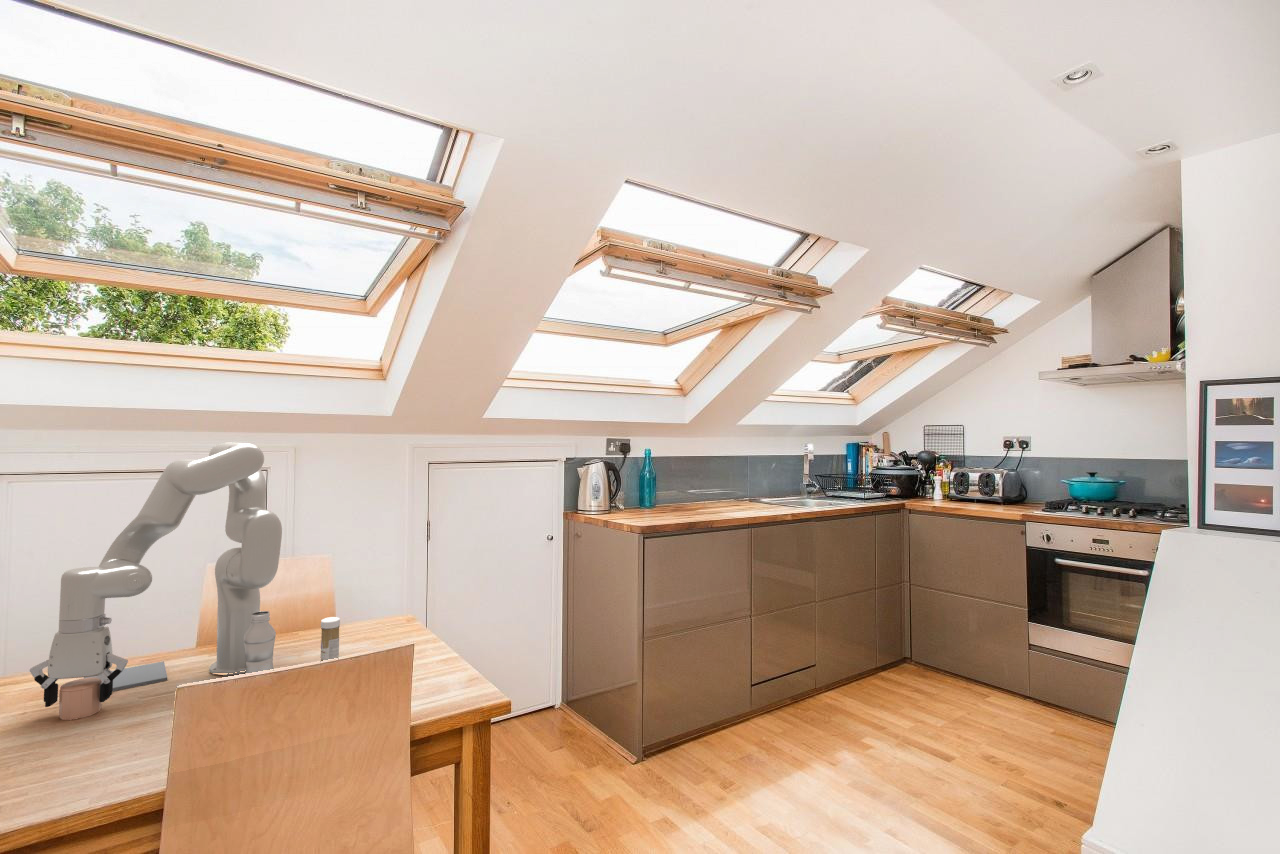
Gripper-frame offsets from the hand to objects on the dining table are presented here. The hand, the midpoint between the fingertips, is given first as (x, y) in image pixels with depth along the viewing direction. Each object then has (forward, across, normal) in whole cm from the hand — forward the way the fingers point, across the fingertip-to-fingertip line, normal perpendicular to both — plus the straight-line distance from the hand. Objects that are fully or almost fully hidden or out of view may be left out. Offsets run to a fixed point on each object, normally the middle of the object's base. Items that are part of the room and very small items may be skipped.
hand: (78, 702), depth 137 cm
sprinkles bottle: (+2, -48, -13) cm, 50 cm away
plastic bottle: (+2, -36, +2) cm, 36 cm away
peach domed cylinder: (+2, 0, 0) cm, 3 cm away
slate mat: (+2, -1, -19) cm, 19 cm away
